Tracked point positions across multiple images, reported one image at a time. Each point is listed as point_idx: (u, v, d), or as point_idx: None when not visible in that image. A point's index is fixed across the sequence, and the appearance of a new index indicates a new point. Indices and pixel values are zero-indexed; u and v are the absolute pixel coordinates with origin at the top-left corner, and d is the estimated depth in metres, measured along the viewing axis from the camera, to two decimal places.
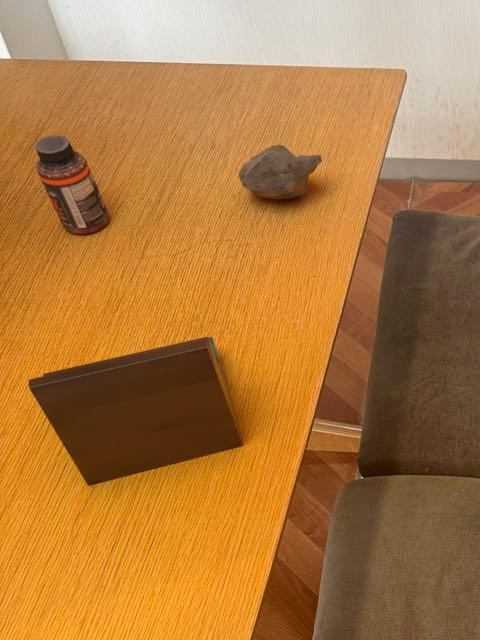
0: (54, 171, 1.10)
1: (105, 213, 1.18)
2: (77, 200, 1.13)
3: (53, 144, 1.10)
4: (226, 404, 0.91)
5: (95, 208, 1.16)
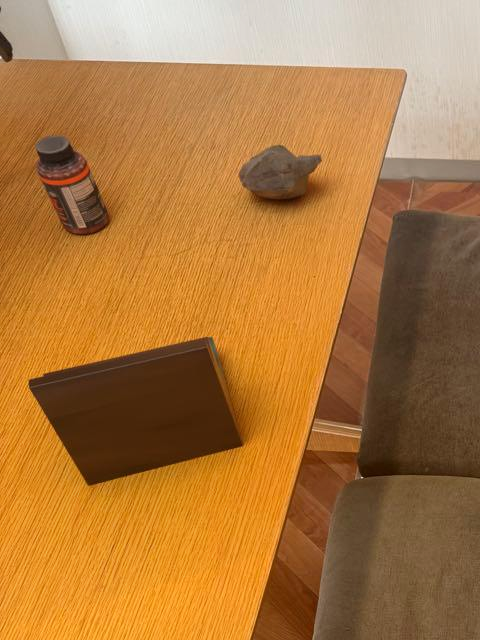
0: (54, 171, 1.10)
1: (105, 213, 1.18)
2: (77, 200, 1.13)
3: (53, 144, 1.10)
4: (226, 404, 0.91)
5: (95, 208, 1.16)
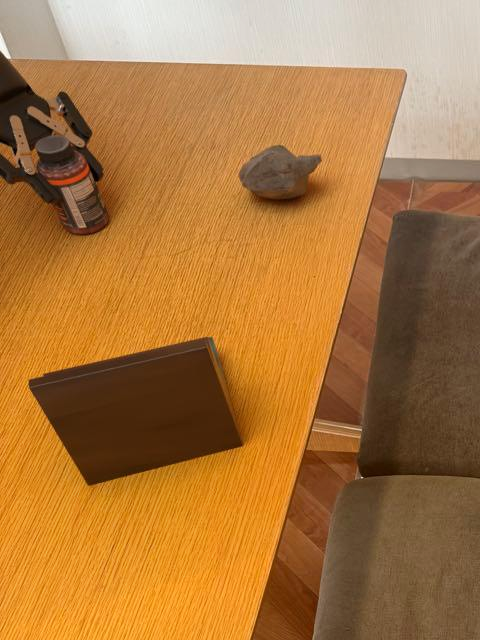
0: (54, 171, 1.10)
1: (105, 213, 1.18)
2: (77, 200, 1.13)
3: (53, 144, 1.10)
4: (226, 404, 0.91)
5: (95, 208, 1.16)
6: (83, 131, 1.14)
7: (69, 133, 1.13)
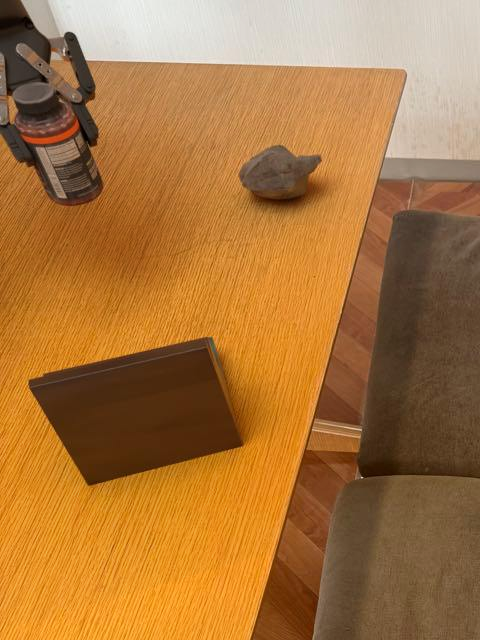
0: (28, 125, 0.89)
1: (95, 186, 0.97)
2: (55, 165, 0.92)
3: (34, 92, 0.89)
4: (226, 404, 0.91)
5: (79, 178, 0.94)
6: (84, 84, 0.93)
7: (65, 83, 0.92)
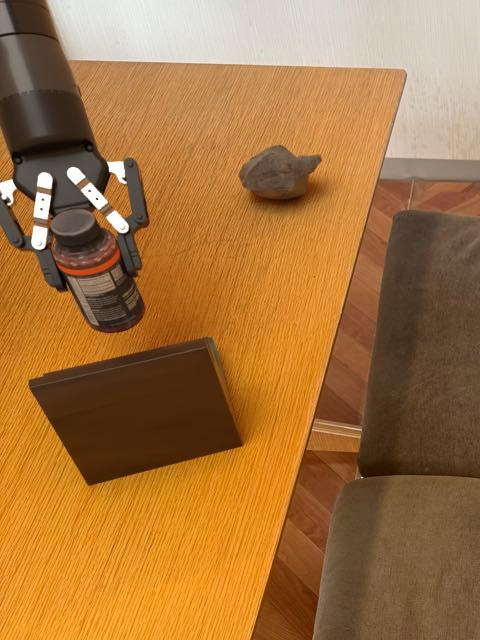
0: (62, 255, 0.83)
1: (132, 316, 0.89)
2: (87, 295, 0.86)
3: (73, 222, 0.82)
4: (226, 404, 0.91)
5: (113, 309, 0.87)
6: (134, 214, 0.85)
7: (114, 212, 0.84)
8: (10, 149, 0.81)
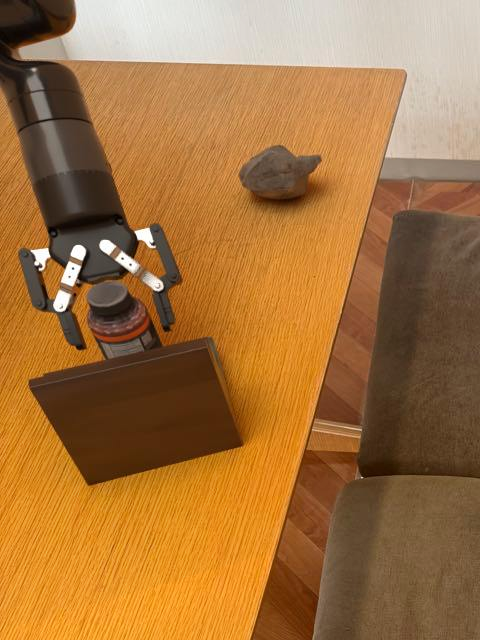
0: (96, 323, 0.89)
1: None
2: None
3: (107, 294, 0.89)
4: (226, 404, 0.91)
5: None
6: (169, 274, 0.91)
7: (147, 273, 0.91)
8: (47, 224, 0.87)
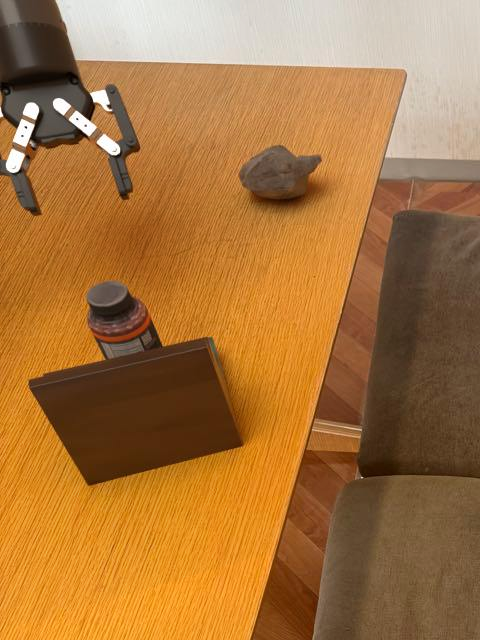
0: (96, 323, 0.89)
1: None
2: None
3: (107, 294, 0.89)
4: (226, 404, 0.91)
5: None
6: (125, 137, 0.89)
7: (103, 136, 0.89)
8: None
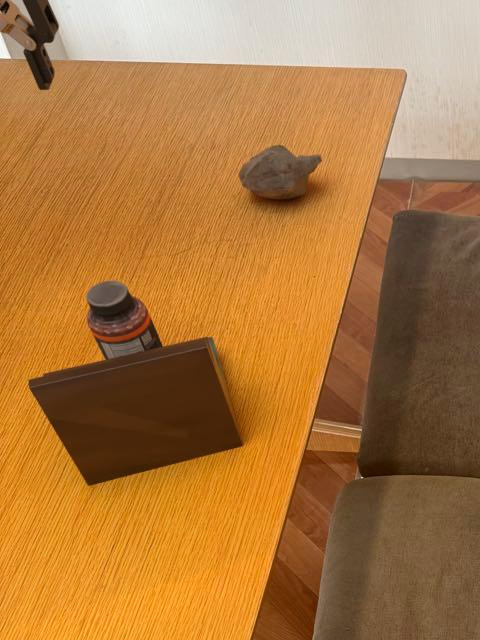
0: (96, 323, 0.89)
1: None
2: None
3: (107, 294, 0.89)
4: (226, 404, 0.91)
5: None
6: (41, 33, 0.81)
7: (15, 28, 0.80)
8: None
